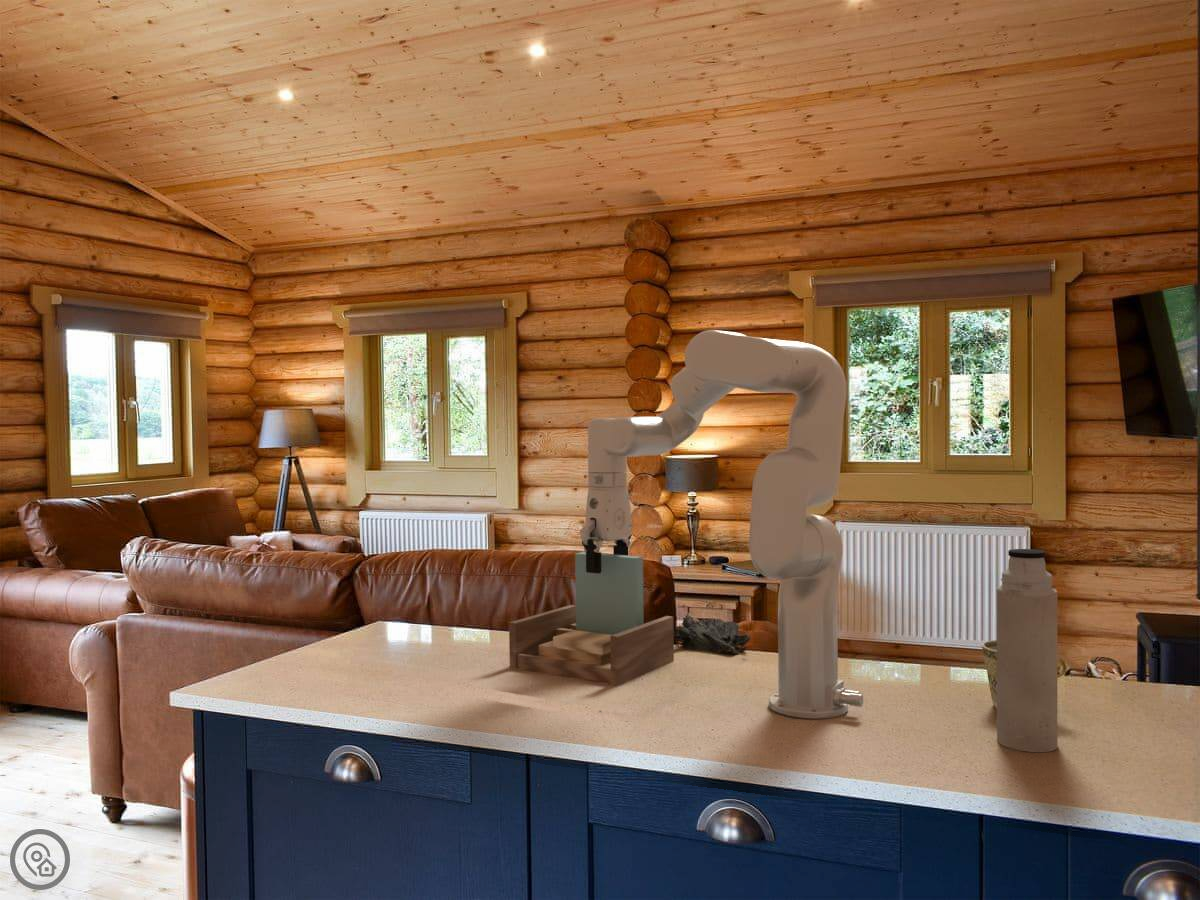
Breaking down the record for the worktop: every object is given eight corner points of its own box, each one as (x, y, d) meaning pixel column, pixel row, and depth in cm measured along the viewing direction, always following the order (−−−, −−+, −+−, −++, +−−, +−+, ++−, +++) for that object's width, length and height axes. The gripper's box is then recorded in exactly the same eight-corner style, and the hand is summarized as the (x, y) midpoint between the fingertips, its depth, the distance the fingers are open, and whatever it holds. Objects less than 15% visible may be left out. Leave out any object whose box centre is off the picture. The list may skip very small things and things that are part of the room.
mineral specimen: (667, 634, 187) (687, 590, 191) (670, 652, 198) (689, 610, 202) (738, 665, 182) (757, 619, 186) (737, 681, 194) (755, 637, 197)
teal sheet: (643, 660, 181) (642, 556, 181) (637, 663, 179) (636, 558, 179) (583, 651, 189) (582, 552, 188) (576, 654, 187) (575, 553, 186)
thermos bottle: (1007, 730, 142) (1007, 544, 141) (1064, 741, 137) (1064, 549, 136) (988, 744, 136) (988, 550, 136) (1047, 756, 131) (1047, 555, 130)
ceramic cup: (970, 707, 154) (970, 646, 154) (1001, 695, 161) (1000, 636, 160) (1050, 725, 144) (1050, 660, 144) (1079, 712, 151) (1079, 650, 150)
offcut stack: (633, 667, 176) (633, 635, 176) (607, 678, 168) (606, 645, 168) (563, 657, 185) (562, 626, 185) (535, 667, 177) (535, 635, 177)
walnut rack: (673, 668, 181) (673, 616, 180) (618, 694, 164) (617, 636, 164) (571, 653, 194) (570, 604, 194) (509, 675, 177) (509, 622, 177)
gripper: (599, 484, 174) (599, 577, 174) (646, 479, 188) (646, 565, 189) (565, 483, 178) (566, 573, 179) (614, 478, 192) (615, 562, 193)
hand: (607, 569), depth 184 cm, fingers open, 9 cm apart
